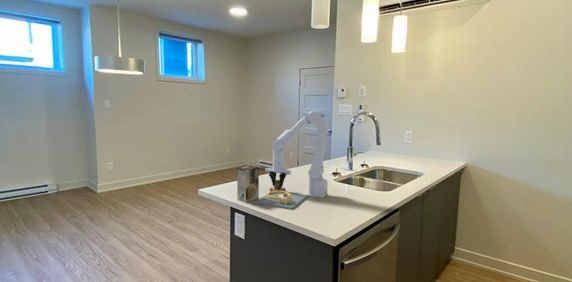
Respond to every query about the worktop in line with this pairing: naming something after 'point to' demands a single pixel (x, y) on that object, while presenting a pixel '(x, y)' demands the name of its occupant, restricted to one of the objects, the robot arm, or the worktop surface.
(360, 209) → the worktop surface
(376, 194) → the worktop surface
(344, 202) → the worktop surface
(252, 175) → the coffee box
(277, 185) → the planet gear
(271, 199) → the carrier plate
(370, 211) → the worktop surface
